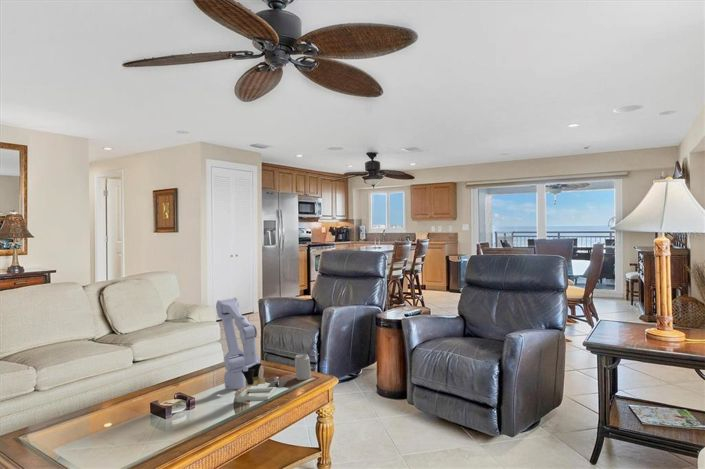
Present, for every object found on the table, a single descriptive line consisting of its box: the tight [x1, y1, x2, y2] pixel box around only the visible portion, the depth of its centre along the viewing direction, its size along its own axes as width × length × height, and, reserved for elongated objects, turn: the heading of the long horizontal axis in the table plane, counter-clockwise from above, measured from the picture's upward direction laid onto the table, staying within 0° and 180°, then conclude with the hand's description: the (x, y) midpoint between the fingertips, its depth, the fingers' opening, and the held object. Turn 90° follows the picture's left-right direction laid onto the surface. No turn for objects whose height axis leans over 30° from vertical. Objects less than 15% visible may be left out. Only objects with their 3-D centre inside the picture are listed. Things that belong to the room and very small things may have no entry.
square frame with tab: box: [245, 375, 266, 387], centre depth 195 cm, size 8×5×2 cm
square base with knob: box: [266, 376, 288, 389], centre depth 207 cm, size 8×8×4 cm
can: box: [294, 353, 312, 381], centre depth 214 cm, size 8×8×12 cm
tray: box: [235, 387, 278, 403], centre depth 195 cm, size 15×11×2 cm
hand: (253, 382), depth 195 cm, fingers closed on square frame with tab, 5 cm apart
